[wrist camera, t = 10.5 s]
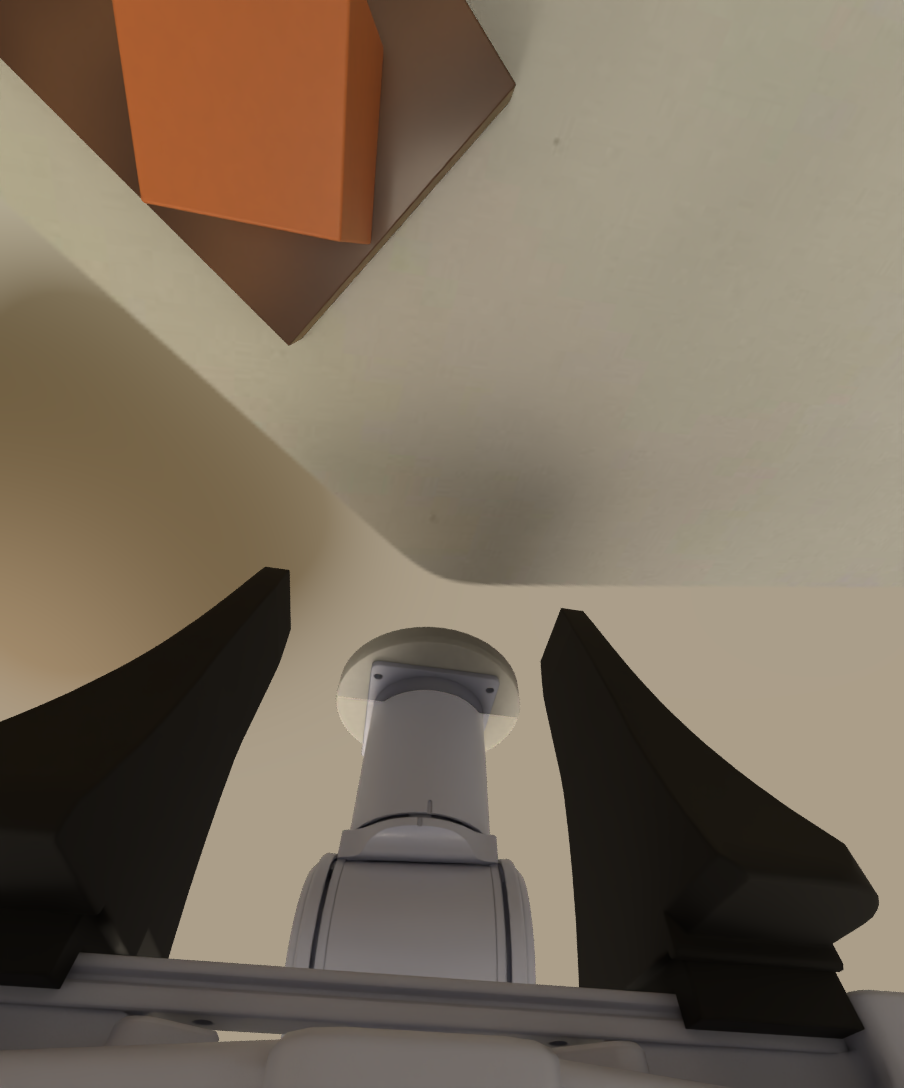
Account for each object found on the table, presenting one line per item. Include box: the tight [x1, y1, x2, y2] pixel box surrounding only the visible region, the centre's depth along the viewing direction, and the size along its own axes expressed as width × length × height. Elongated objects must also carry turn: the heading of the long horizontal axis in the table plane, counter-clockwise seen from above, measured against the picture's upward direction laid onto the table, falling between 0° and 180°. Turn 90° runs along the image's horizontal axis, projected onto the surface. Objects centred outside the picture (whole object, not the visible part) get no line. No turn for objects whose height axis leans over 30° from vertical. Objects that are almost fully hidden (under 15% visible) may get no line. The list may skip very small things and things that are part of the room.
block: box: [112, 0, 383, 244], centre depth 11 cm, size 4×4×4 cm
